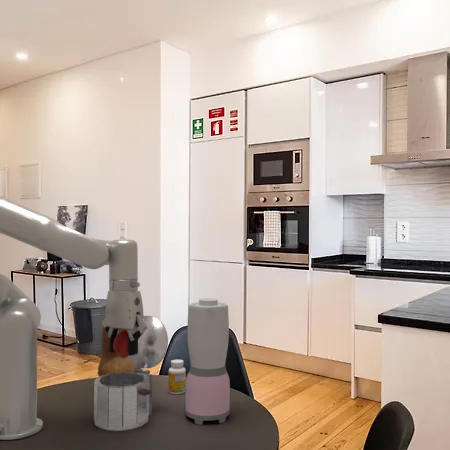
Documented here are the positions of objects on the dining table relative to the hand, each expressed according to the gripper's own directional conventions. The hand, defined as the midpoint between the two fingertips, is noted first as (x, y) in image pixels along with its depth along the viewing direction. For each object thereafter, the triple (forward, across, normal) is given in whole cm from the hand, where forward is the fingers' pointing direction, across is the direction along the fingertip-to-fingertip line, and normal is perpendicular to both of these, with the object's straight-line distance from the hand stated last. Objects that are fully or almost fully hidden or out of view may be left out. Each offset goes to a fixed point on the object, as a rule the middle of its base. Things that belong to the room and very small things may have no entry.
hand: (123, 352), depth 133 cm
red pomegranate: (+2, 0, 0) cm, 2 cm away
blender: (+19, -16, -16) cm, 29 cm away
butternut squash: (+18, +18, -18) cm, 31 cm away
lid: (-1, 0, -8) cm, 8 cm away
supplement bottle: (+19, +2, -26) cm, 32 cm away
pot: (+18, 0, 0) cm, 18 cm away
